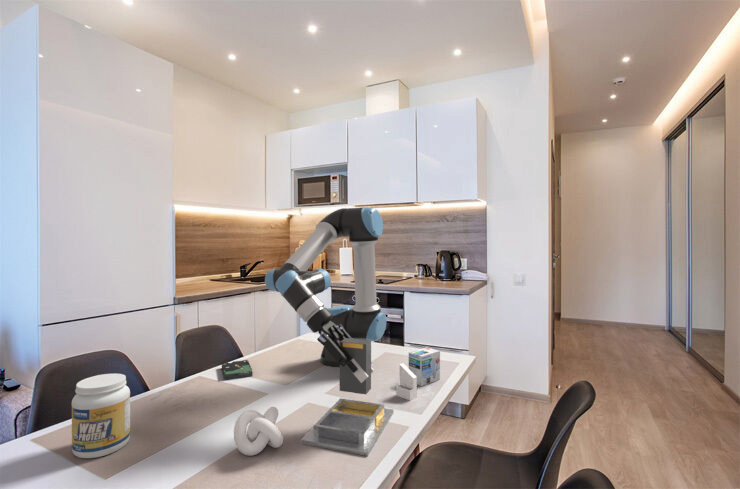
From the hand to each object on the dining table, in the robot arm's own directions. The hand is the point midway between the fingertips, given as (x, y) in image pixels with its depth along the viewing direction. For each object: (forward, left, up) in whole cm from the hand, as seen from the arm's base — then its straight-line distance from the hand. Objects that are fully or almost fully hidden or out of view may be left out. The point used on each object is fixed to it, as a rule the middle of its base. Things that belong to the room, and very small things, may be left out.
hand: (367, 376), depth 109 cm
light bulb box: (-37, +9, -14) cm, 41 cm away
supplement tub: (+33, -60, -13) cm, 69 cm away
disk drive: (-23, -62, -14) cm, 68 cm away
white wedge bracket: (-21, +6, -14) cm, 26 cm away
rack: (+4, -4, -13) cm, 14 cm away
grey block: (0, -4, -4) cm, 6 cm away
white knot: (+20, -22, -14) cm, 32 cm away
